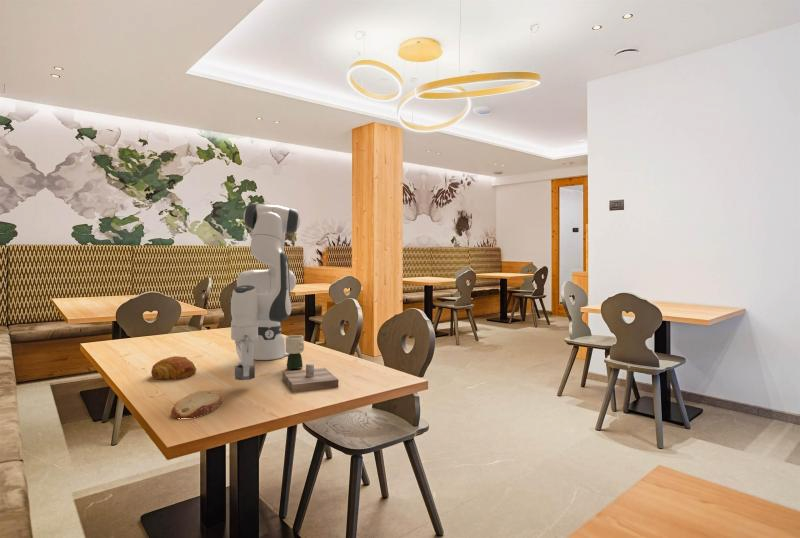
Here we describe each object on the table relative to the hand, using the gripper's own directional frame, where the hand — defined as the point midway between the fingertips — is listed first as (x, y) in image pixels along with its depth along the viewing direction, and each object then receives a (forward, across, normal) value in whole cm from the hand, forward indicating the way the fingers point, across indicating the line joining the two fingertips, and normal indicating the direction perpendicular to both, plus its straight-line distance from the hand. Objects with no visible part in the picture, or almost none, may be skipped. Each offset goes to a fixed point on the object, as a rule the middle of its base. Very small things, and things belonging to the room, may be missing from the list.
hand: (244, 372), depth 164 cm
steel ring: (+2, 0, 0) cm, 2 cm away
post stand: (+5, -2, -22) cm, 23 cm away
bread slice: (+6, -14, +16) cm, 22 cm away
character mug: (+6, +20, -21) cm, 30 cm away
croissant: (+6, +27, +23) cm, 36 cm away
